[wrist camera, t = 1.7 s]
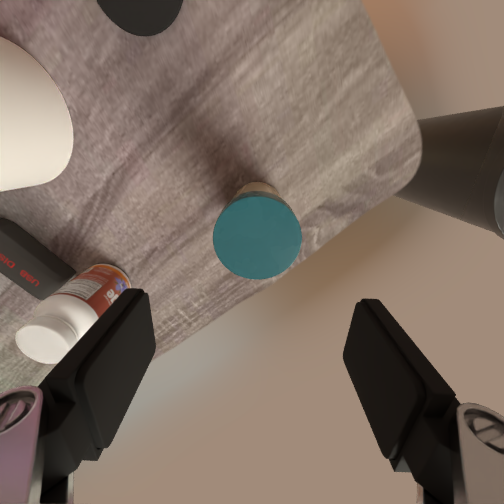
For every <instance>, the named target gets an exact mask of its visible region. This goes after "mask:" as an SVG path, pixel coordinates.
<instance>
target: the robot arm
mask: <svg viewBox="0 0 504 504" xmlns="http://www.w3.org/2000/svg"><path fill="white" fill-rule="evenodd" d="M155 349H156V343H155V336H154V329H153V323H152V316H151V309H150V303H149V296H148V293H144V291H143V289H136V288H126V289H125V290H124V291H123V292H122V293H121V294H120V295H119V296H118V298H117V299H116V300H115V301H114V302H113V303H112V304H111V305H110V306H109V307H108V309H107V310H106V311H105V312H104V313H103V314H102V315H101V316H100V317H99V319H98V320H97V321H96V322H95V323H94V324H93V325H92V326H91V327H90V328H89V330H88V331H87V332H86V333H85V334H84V335H83V336H82V337H81V338H80V340H79V341H78V342H77V343H76V344H75V345H74V346H73V347H72V348H71V349H70V351H69V352H68V353H67V354H66V355H65V356H64V357H63V358H62V359H61V361H60V362H59V363H58V364H57V365H56V366H55V367H54V368H53V369H52V371H51V372H50V373H49V374H48V375H47V376H46V377H45V379H44V380H43V381H42V382H41V383H40V385H39V386H38V387H36V386H32V385H26V386H19V387H15V388H12V389H9V390H7V391H5V392H2V393H0V504H73V493H74V492H73V491H74V471H75V470H76V469H77V468H78V466H79V465H80V463H81V461H82V460H90V461H97V460H98V459H99V457H100V455H101V453H102V451H103V449H104V448H108V447H109V446H110V444H111V442H112V441H113V439H114V437H115V434H116V432H117V430H118V428H119V426H120V424H121V422H122V420H123V418H124V416H125V413H126V412H127V409H128V407H129V405H130V403H131V401H132V399H133V397H134V395H135V393H136V391H137V389H138V387H139V385H140V383H141V380H142V378H143V376H144V374H145V372H146V370H147V368H148V366H149V364H150V362H151V360H152V358H153V356H154V353H155ZM343 360H344V363H345V365H346V368H347V370H348V373H349V375H350V378H351V380H352V383H353V385H354V387H355V390H356V392H357V394H358V397H359V399H360V402H361V404H362V407H363V409H364V411H365V414H366V416H367V419H368V421H369V423H370V425H371V428H372V431H373V433H374V435H375V438H376V440H377V443H378V445H379V448H380V450H381V452H382V454H383V456H384V457H385V458H386V459H389V461H390V463H391V465H392V468H393V470H394V472H411V473H412V475H413V477H414V479H415V481H416V482H417V504H504V417H503V416H501V415H500V414H499V413H497V412H495V411H493V410H491V409H489V408H487V407H484V406H482V405H479V404H475V403H463V404H460V403H459V401H458V400H457V399H456V398H455V396H456V394H455V393H454V391H453V390H452V389H451V388H450V386H449V385H448V384H447V383H446V382H445V380H444V379H443V378H442V377H441V375H440V374H439V373H438V372H437V370H436V369H435V368H434V367H433V365H432V364H431V363H430V362H429V361H428V359H427V358H426V357H425V356H424V355H423V353H422V352H421V351H420V350H419V348H418V347H417V346H416V345H415V343H414V342H413V341H412V340H411V338H410V337H409V336H408V335H407V334H406V332H405V331H404V330H403V329H402V327H401V326H400V325H399V324H398V322H397V321H396V320H395V319H394V317H393V316H392V315H391V314H390V313H389V311H388V310H387V309H386V308H385V306H384V305H383V304H382V303H381V302H380V300H378V299H362V300H361V301H360V302H358V303H356V306H355V309H354V313H353V317H352V321H351V325H350V329H349V332H348V336H347V340H346V344H345V347H344V351H343Z"/></svg>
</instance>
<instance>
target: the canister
mask: <svg viewBox="0 0 504 504" xmlns="http://www.w3.org/2000/svg"><path fill="white" fill-rule="evenodd" d="M72 149H73V127H72V121H71V117H70V113H69V110H68V108H67V105H66V102H65V100H64V98H63V96H62V94H61V92H60V90H59V89H58V87H57V85H56V84H55V82H54V81H53V79H52V78H51V77H50V75H49V74H48V73H47V71H46V70H45V69H44V68H43V67H42V66H41V65H40V64H39V63H38V62H37V61H36V60H35V59H34V58H33V57H32V56H31V55H30V54H28V53H27V52H26V51H25V50H23V49H22V48H20V47H19V46H17V45H16V44H14V43H13V42H11V41H9V40H7V39H5V38H2V37H0V192H1V191H7V190H12V189H18V188H24V187H29V186H35V185H40V184H44V183H47V182H49V181H51V180H53V179H55V178H56V177H57V176H59V175H60V174H61V173H62V171H63V170H64V169H65V167H66V166H67V164H68V162H69V160H70V157H71V154H72Z"/></svg>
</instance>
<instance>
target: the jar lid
mask: <svg viewBox="0 0 504 504" xmlns="http://www.w3.org/2000/svg"><path fill="white" fill-rule="evenodd" d="M301 242H302V233H301V228H300V225H299V222H298V220H297V218H296V216H295V214H294V213H293V211H292V209H291V208H290V206H289V205H288V204H287V203H286V202H285V201H284V200H283V199H281V198H280V197H278V196H277V195H275V194H272V193H269V192H265V191H250V192H246V193H243V194H240V195H238V196H236V197H235V198H233V199H232V200H231V201H230V202H229V203H228V204H227V205H226V206H225V207H224V209H223V210H222V212H221V214H220V216H219V218H218V220H217V222H216V224H215V227H214V232H213V244H214V249H215V252H216V254H217V256H218V258H219V260H220V261H221V262H222V264H223V265H224V266H225V267H226V268H227V269H229V270H230V271H231V272H233V273H234V274H237V275H239V276H241V277H244V278H248V279H266V278H271V277H273V276H276V275H278V274H280V273H282V272H283V271H285V270H286V269H287V268H288V267H289V266H290V265H291V264H292V263H293V262H294V260H295V259H296V257H297V255H298V253H299V251H300V247H301Z"/></svg>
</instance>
